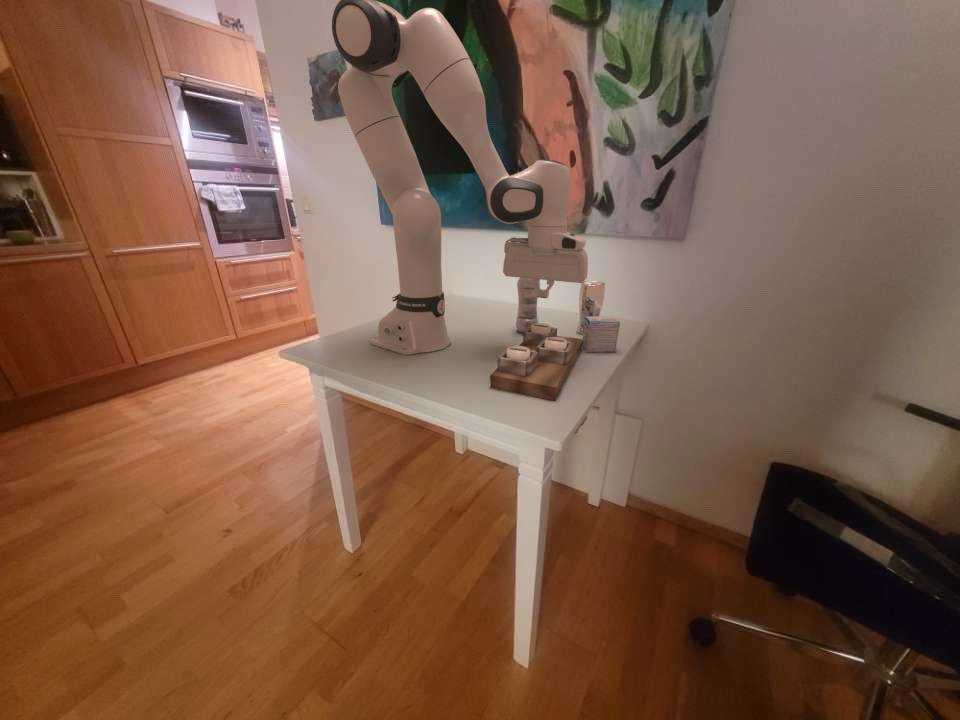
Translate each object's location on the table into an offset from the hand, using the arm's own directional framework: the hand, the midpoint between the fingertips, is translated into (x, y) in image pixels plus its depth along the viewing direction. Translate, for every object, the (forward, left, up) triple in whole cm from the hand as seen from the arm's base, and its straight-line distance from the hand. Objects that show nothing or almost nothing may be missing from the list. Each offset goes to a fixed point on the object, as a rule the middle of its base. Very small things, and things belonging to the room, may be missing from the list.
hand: (541, 297), depth 91 cm
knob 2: (0, 0, -11) cm, 12 cm away
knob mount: (+3, -9, -15) cm, 17 cm away
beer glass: (+9, +21, -15) cm, 27 cm away
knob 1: (0, -18, -12) cm, 21 cm away
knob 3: (+6, -9, -11) cm, 16 cm away
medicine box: (+14, +8, -15) cm, 22 cm away
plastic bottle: (-8, +14, -15) cm, 22 cm away
